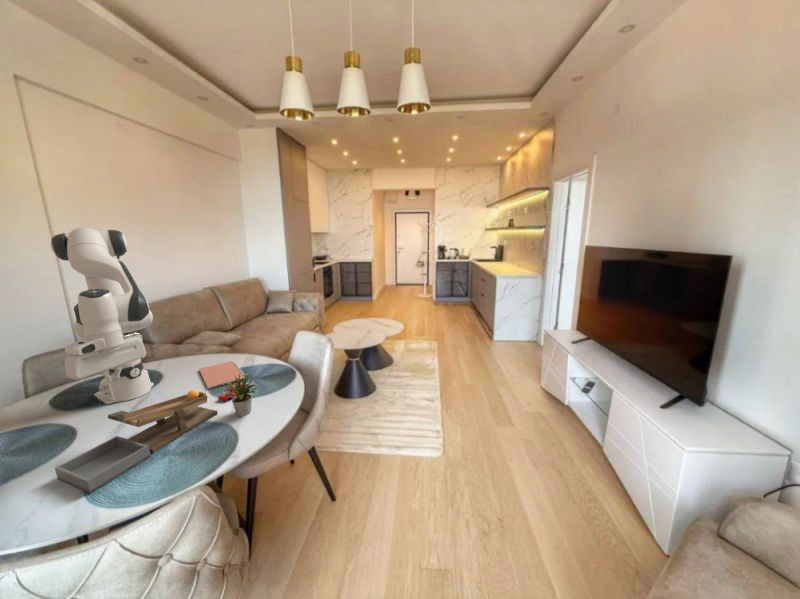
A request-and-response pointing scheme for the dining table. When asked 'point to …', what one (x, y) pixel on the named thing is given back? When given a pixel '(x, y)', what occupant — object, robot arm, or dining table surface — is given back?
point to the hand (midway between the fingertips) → (113, 380)
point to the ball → (192, 394)
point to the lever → (157, 410)
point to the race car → (223, 399)
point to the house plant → (241, 395)
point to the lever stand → (173, 427)
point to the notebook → (221, 374)
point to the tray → (102, 464)
